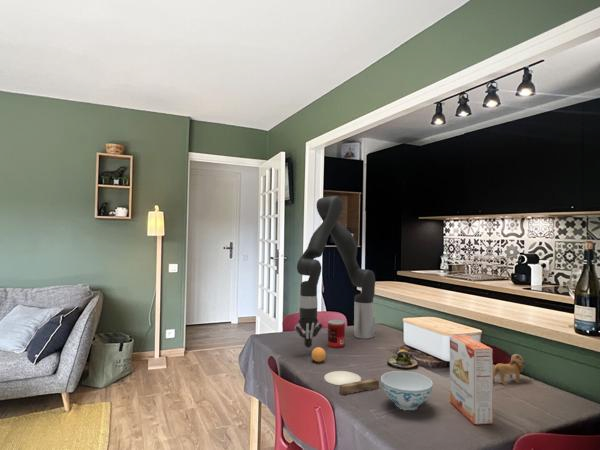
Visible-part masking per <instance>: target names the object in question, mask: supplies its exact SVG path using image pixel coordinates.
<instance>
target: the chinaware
mask: <svg viewBox="0 0 600 450" xmlns="http://www.w3.org/2000/svg"><path fill="white" fill-rule="evenodd" d="M380 381H381V386H382V389H383V391H384V393H385V395H386V396H387V398H388V399H389V400H390V401H391V402H392V403H394V406H395V405H396V406H397V407H399V408H401V409H405V410H404V411H406V410H413V411H415V410H414V409H416V410H417V409H419V406H422V405H423V404H424V403H425V402H426V401H427V400H428V398H429V397H430V395H431V392H432V390H433V381H432V380H431V378H430V377H428V376H426V375H423V374H420V373H418V372H413V371H405V370H404V371H403V370H395V371H389V372H385V373H383V374H382V375H381V377H380ZM396 406H395V407H396ZM397 407H396V408H397ZM399 408H398V409H399ZM401 409H400V410H401Z"/></svg>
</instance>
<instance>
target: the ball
mask: <svg viewBox="0 0 600 450" xmlns="http://www.w3.org/2000/svg"><path fill="white" fill-rule="evenodd" d="M311 357H312V359H313V361H314V362H317V363H321V362H323V361H324V360H325V358H326V351H325V349H324V348H322V347H321V346H318V347H315V348H313V349H312V352H311Z"/></svg>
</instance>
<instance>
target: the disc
mask: <svg viewBox="0 0 600 450" xmlns="http://www.w3.org/2000/svg"><path fill="white" fill-rule="evenodd" d="M324 381H326V382H327V383H328V384H332V385H335V386H339V385H342V384H347V383H353V382H358V381H362V377H361V375H359V374H357V373H354V372H351V371H346V370H345V371H344V370H336V371H330V372H327V373H326V374H325V375H324Z"/></svg>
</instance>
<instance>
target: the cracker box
mask: <svg viewBox="0 0 600 450" xmlns="http://www.w3.org/2000/svg"><path fill="white" fill-rule="evenodd" d="M493 354H494V351H493V348H492V347H490V346H487V345H486V344H484V343H482V342H481V341H478V340H476V339H475V338H473V337H471V336H470V335H467V334H452V335H449V402H450V403H451V404H452V405H453V406H454V407H455V408H456V409H457V410H458V412H461V414H462V415H463V416H464V417H466V418H467V420H469V421H470V423H472V424H473V425H474V424H476V425H493V424H494V384H493V371H494V365H493V363H494V360H493V359H494V358H493V357H494V355H493Z"/></svg>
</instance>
